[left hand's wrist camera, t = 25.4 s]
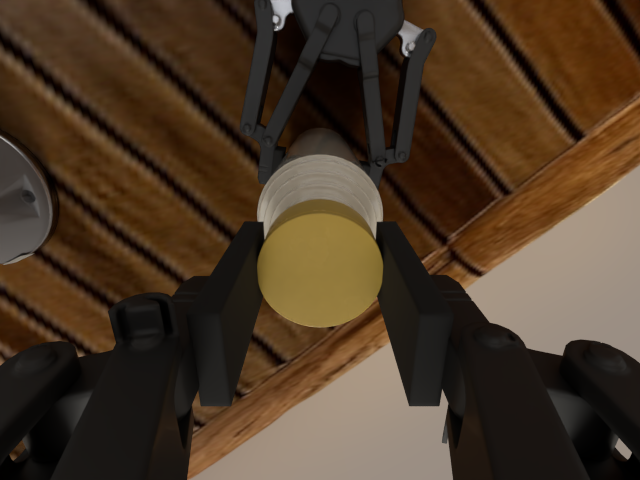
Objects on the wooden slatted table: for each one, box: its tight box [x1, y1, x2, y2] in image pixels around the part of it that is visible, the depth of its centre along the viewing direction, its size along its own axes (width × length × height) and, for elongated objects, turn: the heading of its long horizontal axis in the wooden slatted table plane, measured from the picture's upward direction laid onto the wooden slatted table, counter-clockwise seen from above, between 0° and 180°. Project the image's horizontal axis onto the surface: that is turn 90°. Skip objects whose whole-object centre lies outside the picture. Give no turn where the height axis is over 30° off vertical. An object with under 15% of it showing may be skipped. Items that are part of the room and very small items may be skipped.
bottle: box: [257, 128, 383, 240], centre depth 25 cm, size 7×7×26 cm
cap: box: [257, 199, 383, 327], centre depth 13 cm, size 4×4×2 cm
